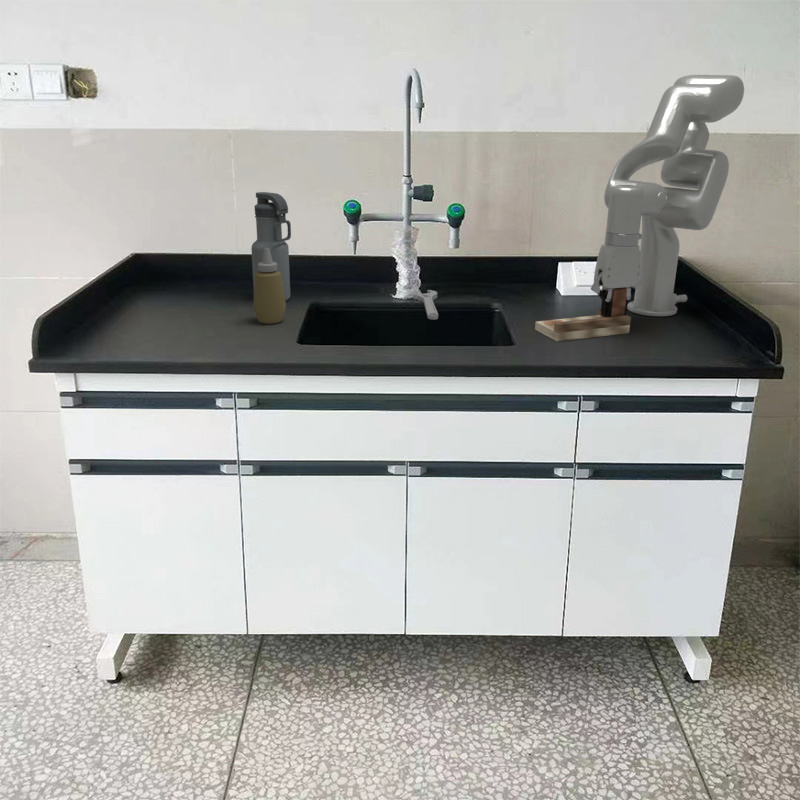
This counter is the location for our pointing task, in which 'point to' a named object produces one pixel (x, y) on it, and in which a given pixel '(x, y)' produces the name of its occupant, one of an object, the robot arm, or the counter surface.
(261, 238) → the water bottle
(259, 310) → the squeeze bottle
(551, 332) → the board
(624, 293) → the brown wooden block
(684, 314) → the counter surface
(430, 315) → the adjustable wrench
